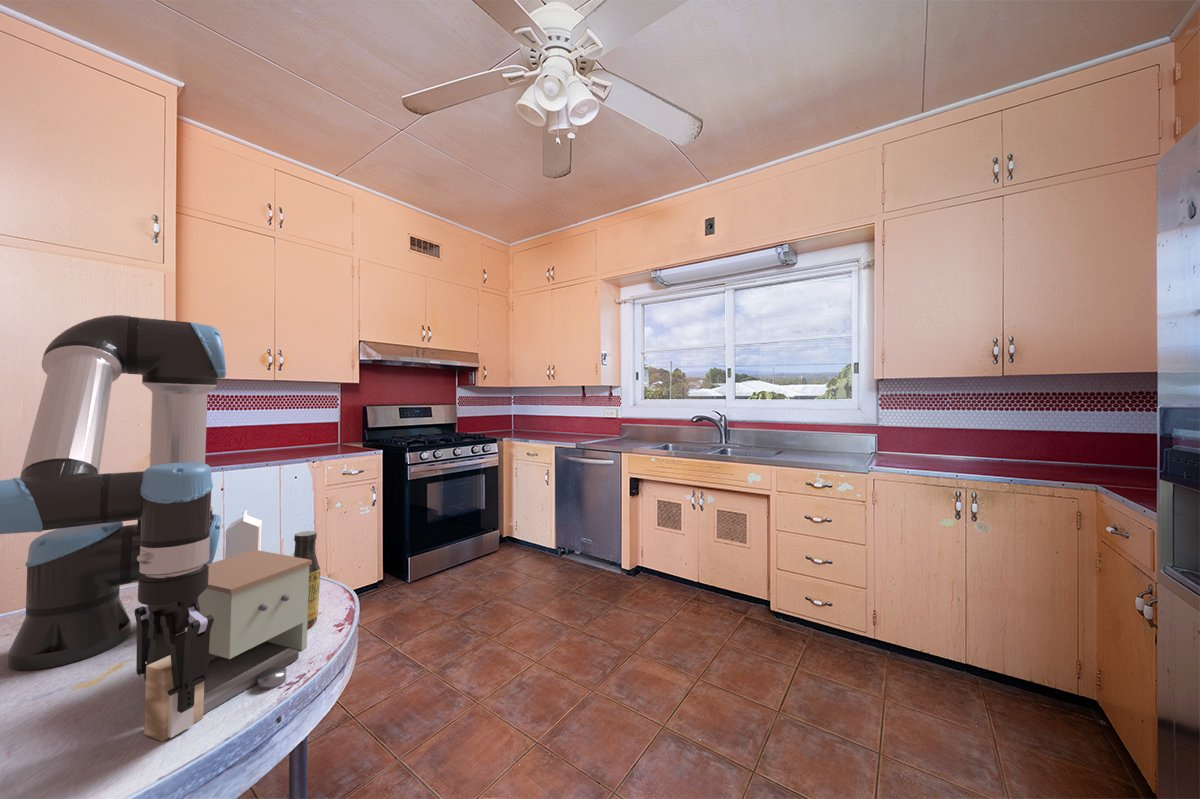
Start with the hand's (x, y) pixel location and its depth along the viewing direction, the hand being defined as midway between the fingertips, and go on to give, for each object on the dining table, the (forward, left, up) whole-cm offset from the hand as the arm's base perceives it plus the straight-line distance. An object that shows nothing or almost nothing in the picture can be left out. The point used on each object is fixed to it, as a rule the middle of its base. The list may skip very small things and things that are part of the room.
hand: (169, 726), depth 65 cm
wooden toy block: (0, +9, 0) cm, 9 cm away
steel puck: (+3, +13, -1) cm, 13 cm away
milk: (-31, +31, -1) cm, 43 cm away
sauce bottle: (-10, +29, -1) cm, 30 cm away
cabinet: (-8, +16, 0) cm, 18 cm away
